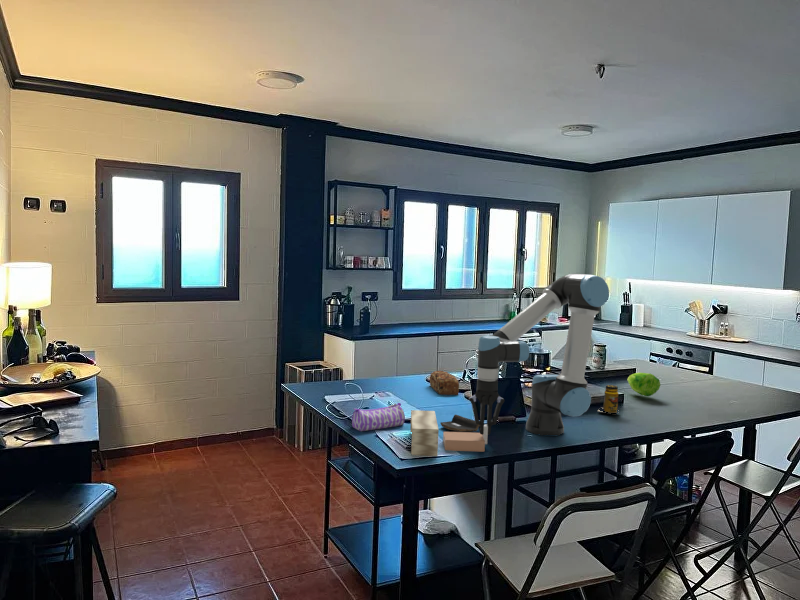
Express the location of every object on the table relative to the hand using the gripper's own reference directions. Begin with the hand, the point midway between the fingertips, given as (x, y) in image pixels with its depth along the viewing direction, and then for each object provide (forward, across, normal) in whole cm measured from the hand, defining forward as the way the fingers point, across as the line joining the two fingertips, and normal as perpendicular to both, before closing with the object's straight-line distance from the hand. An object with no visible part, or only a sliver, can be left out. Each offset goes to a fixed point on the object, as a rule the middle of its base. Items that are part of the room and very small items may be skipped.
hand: (484, 442), depth 217 cm
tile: (+2, +8, 0) cm, 8 cm away
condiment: (+2, -65, -58) cm, 87 cm away
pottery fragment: (+3, +8, -18) cm, 20 cm away
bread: (+2, +8, -85) cm, 85 cm away
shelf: (+2, +23, 0) cm, 23 cm away
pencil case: (+2, +39, -18) cm, 43 cm away
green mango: (+2, -96, -96) cm, 135 cm away
